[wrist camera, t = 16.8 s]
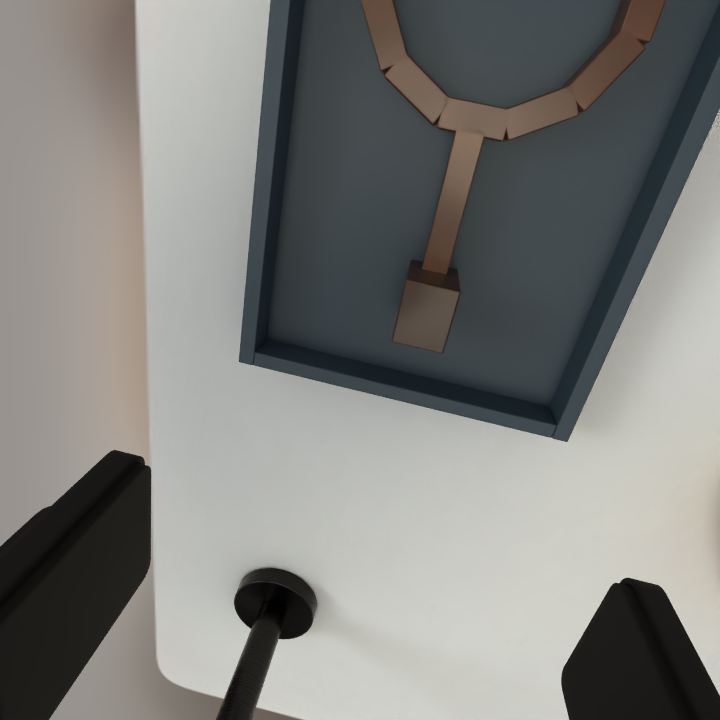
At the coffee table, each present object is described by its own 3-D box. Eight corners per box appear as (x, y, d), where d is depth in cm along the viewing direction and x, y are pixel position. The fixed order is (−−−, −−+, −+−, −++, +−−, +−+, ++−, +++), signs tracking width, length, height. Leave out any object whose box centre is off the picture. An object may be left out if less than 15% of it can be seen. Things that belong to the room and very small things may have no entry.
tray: (254, 345, 28) (238, 362, 26) (330, -401, 16) (313, -486, 14) (557, 418, 27) (567, 442, 25) (879, -323, 15) (953, -403, 13)
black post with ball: (236, 613, 38) (109, 904, 23) (243, 559, 35) (104, 849, 21) (310, 633, 37) (228, 942, 23) (322, 580, 35) (238, 890, 20)
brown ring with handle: (401, -243, 17) (389, -347, 13) (724, -191, 16) (805, -287, 13) (317, 295, 25) (296, 320, 22) (526, 344, 25) (540, 378, 21)
